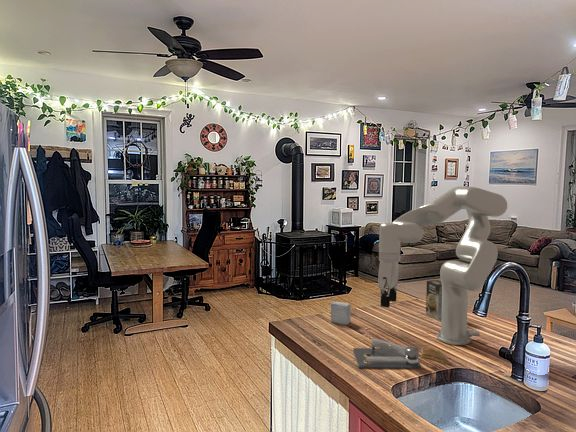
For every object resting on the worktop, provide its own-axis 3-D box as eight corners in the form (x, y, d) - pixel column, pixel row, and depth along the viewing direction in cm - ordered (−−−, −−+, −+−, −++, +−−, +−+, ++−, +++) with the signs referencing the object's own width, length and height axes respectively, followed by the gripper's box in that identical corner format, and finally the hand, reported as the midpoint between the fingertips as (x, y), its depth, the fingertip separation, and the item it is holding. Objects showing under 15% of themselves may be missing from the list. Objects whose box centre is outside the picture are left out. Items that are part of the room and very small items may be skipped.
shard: (450, 366, 139) (450, 361, 139) (428, 366, 139) (428, 361, 139) (438, 352, 150) (438, 348, 150) (417, 353, 150) (417, 348, 150)
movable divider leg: (420, 360, 139) (420, 349, 139) (415, 365, 136) (415, 353, 136) (374, 347, 151) (374, 336, 151) (368, 350, 148) (368, 339, 148)
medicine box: (350, 322, 182) (350, 303, 181) (346, 325, 178) (346, 306, 177) (334, 319, 186) (334, 300, 185) (330, 322, 182) (330, 303, 181)
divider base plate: (409, 351, 151) (409, 344, 151) (421, 368, 137) (421, 360, 137) (353, 350, 151) (353, 343, 151) (358, 368, 137) (358, 360, 137)
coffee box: (425, 313, 193) (426, 280, 192) (436, 312, 195) (437, 279, 193) (437, 319, 184) (438, 285, 183) (449, 318, 186) (450, 284, 185)
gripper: (386, 252, 158) (386, 296, 159) (371, 259, 143) (370, 308, 145) (406, 254, 154) (405, 299, 156) (392, 261, 139) (391, 312, 141)
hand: (388, 303), depth 150 cm, fingers open, 7 cm apart
